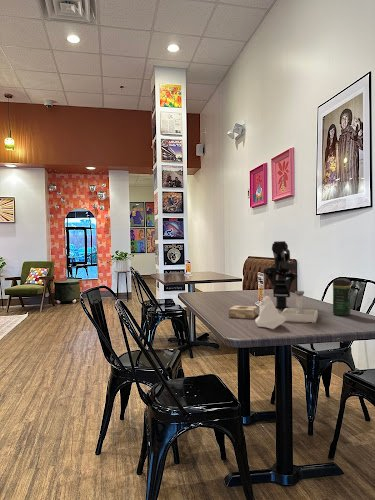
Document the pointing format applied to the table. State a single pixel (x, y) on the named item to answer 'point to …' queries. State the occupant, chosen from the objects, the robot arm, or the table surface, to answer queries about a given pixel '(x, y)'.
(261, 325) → the white tetrapod block
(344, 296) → the coffee jar
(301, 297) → the steel pin
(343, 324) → the table surface
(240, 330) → the table surface
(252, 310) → the block
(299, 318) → the tray
